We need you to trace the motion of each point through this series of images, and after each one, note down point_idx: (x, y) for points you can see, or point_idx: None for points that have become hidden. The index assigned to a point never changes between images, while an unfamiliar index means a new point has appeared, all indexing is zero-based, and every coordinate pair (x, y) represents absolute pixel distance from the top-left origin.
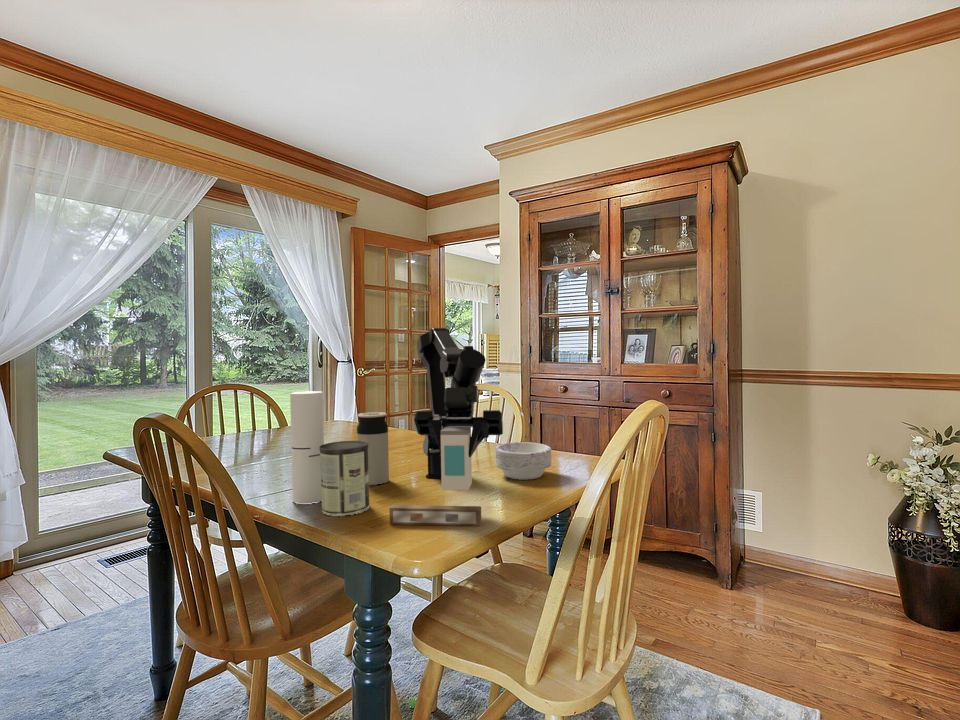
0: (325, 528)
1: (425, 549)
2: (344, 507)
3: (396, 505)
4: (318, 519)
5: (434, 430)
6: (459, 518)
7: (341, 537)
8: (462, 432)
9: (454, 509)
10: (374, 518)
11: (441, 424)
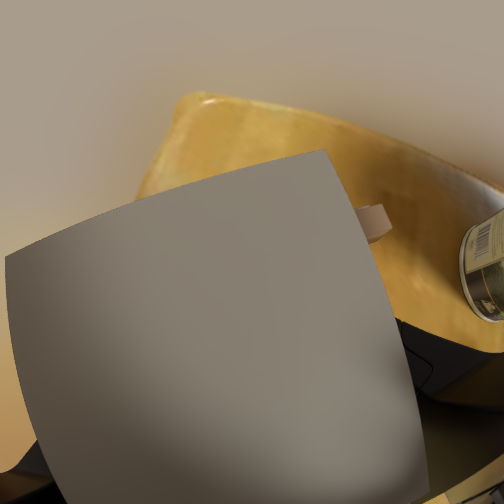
0: (443, 168)
1: (217, 134)
2: (478, 226)
3: (380, 227)
4: (483, 204)
5: (488, 354)
6: None
7: (391, 139)
8: (54, 243)
9: None
10: (418, 242)
11: (484, 454)
